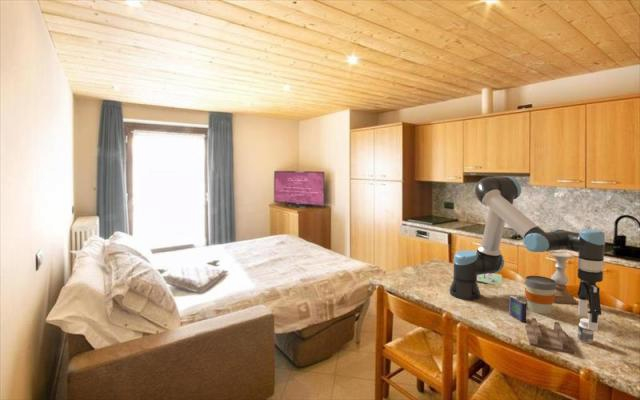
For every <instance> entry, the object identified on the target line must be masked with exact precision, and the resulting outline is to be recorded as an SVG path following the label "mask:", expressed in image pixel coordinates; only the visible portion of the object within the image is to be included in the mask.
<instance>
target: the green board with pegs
mask: <svg viewBox="0 0 640 400" xmlns="http://www.w3.org/2000/svg"><path fill="white" fill-rule="evenodd" d="M502 281H503V274H499V273H492V274H481V275H477V283H478V282H479V283H484V284H487V285H488V284H489V285H500V284H501V283H502Z"/></svg>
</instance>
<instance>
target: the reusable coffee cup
mask: <svg viewBox="0 0 640 400" xmlns="http://www.w3.org/2000/svg"><path fill="white" fill-rule="evenodd" d="M524 279H525V280H524V285H525V288H524V294H525V295H524V296H525V299H526V303H527V309H528V310H529V311H530V312H533V313H535V314H539V315H540V314H541V315H548V314H550V313H551V309H552V306H553V305H552V304H554V303H553V302H554V298H555V289H556V281H554V280H553V279H551V277H547V276H543V275H542V276H541V275H526V276H525V278H524Z"/></svg>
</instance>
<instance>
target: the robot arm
mask: <svg viewBox="0 0 640 400" xmlns="http://www.w3.org/2000/svg"><path fill="white" fill-rule="evenodd" d="M474 187H475V188H474V194H475V196H476V199H477V200H478V201H479V202H480V203H481V204H482V205H483V206H484V207H488V210H487V211H488V212H487V217H486V221H485V226H484V230H483V236H482V239H481V244H480V245H478V246H477V249H476V250H475V251H474V250H472V249H471V250H469V249H468V250H466V249H465V250H459V251H457V252H456V253H455V254H454V255H453V261H452V262H453V280H452V281H451V285H450V286H449V294H450V296H453V297H454V298H457V299H461V300H465V301H466V300H469V301H470V300H471V301H474V300H478V299H479V298H480V297H481V290H480V287H479V284H478V281H477V275H481V274H492V273H495V274H497V273H499V272H501V271H502V270H503V268H504V266H505V259H504V256H503V254H502V251H501V250H500V245H501V241H502V237H503V233H504V228H505V224H507V225H508V226H509V227H510V228H511V229H513V231H515V232H516V233H517V234H518V235H519V236H520V237H522V239H523V244H524V246H525V248H526V250H528V251H529V252H532V253H544V252H553V251H560V250H561V251H563V250H568V251H573V252H576V253H577V252H578V258H577V267H578V269H577V278H578V279H580V282H579V285H578V291H577V296H578V311H577V314H578V316H582V317H587V316H588V319H589V320H588V329H589V330H594V332H595V331H596V332H598V331H599V316H601V315H602V309H601V307H602V306H601V296H600V287H599V286H598V285H597V284H596V283H601V282H602V281H603V279H604V271H603V270H604V265H606V262H605V261H604V260H605V259H604V258H605V257H604V255H605V248H606V247H605V246H606V236H605V232H603V231H602V230H599V229H592V228H582V229H581V230H579V232H576V231H575V232H574V231H568V230H565V229H557V228H556V229H555V228H554V229H551V231H549V232H548V231H547V232H546V231H544V230H543V229H542V228H541V227H539V226H538V225H537V224H536V223H535V222H534V221H532V220H531V218H529V217H528V216H527V215H525V214H524V213H523V212H522V211H520V209H518V208H517V207H516V206H515V205H514V201H515V200H517V199H518V198H519V197H520V196H521V193H522V186H521V183H520V182H519V180H517V179H516V178H515V177H511V176H494V177H493V176H492V177H491V176H489V177H484V178H482V179H480V180H479V181H478V182H477V183H476V185H475V186H474ZM588 307H589V311H588Z"/></svg>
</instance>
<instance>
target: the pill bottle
mask: <svg viewBox="0 0 640 400" xmlns="http://www.w3.org/2000/svg"><path fill="white" fill-rule="evenodd" d="M588 320H589V318H583V317H582V318H580V319H579V323H578V328H577V329H578V330H577V340H579V341H580V342H582V343H584V344H593V342H594V334H595V331H594V330H589V329H588Z"/></svg>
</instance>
